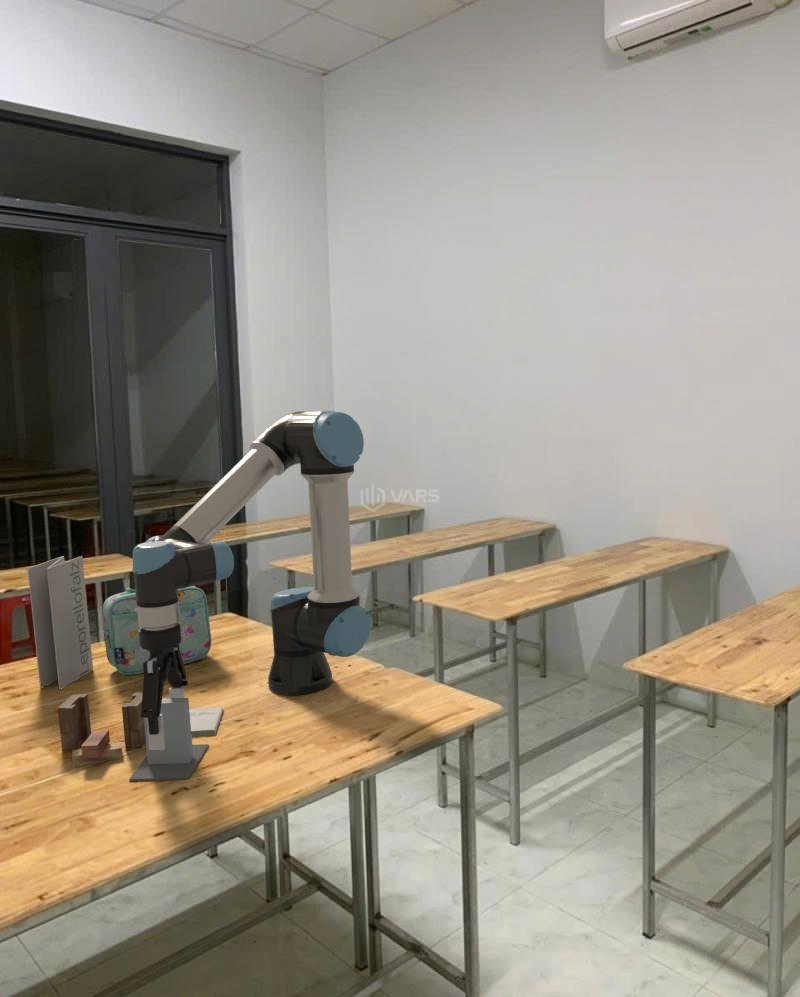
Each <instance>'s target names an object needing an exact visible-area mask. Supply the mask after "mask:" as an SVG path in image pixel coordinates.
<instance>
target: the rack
mask: <svg viewBox="0 0 800 997" xmlns="http://www.w3.org/2000/svg"><path fill="white" fill-rule="evenodd" d="M142 693H143V692H134V693H133V694H132V695H131V698H132V701H130V702H128V703H126V702H125V703H124V704H123V705H122V706H121V712H122V724H123V725H122V726H123V735H124V744H125V745H124V746H125V751H131V750H141V749H142V748H143V747H145V745H146V736H145V725H144V718H142V717H141V708H142ZM88 697H89V696H88V693H82V694H72V695H70V696H69V697H68V698H67V699H66V700H65V701H64V702H63V703H62V704H60V705H59V706H58V707H57V714H58V716H57V717H58V725H59V735H60V744H61V751H62V752H68V751H69V752H72V750H77V749H81V748H80V747H81V746H80V744H81V742H82V741H83V740H86V739H87V738H88V737H89V736H90V734H91V733H92V727H91V718H90V706H89V698H88Z"/></svg>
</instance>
